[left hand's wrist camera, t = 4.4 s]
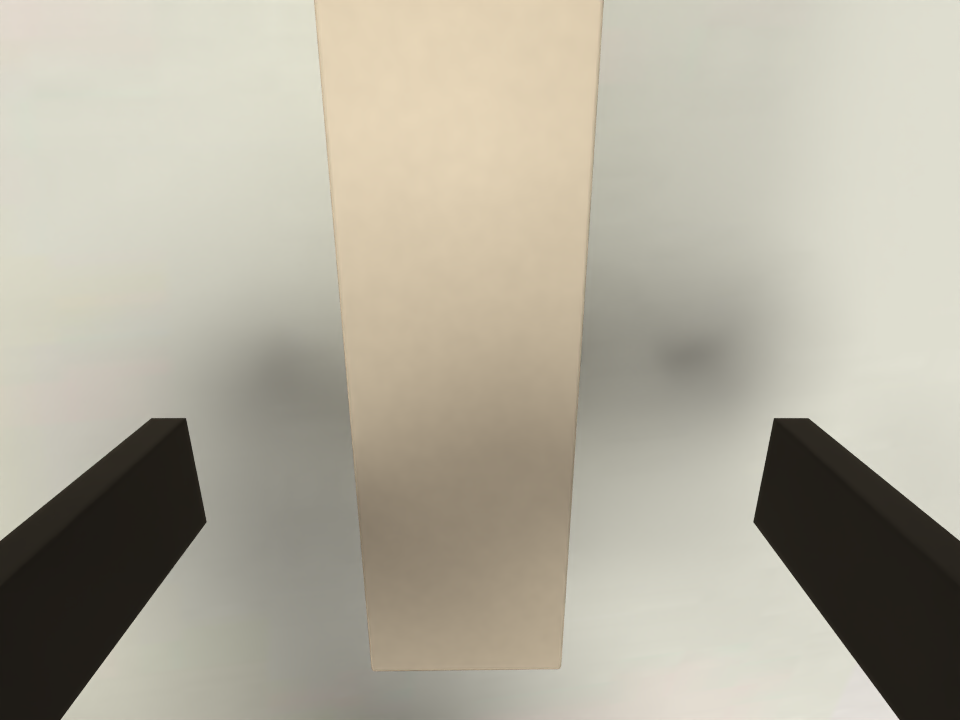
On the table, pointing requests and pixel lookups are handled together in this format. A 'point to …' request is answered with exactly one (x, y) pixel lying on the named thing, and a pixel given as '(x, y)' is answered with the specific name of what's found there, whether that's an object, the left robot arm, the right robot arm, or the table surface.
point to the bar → (462, 311)
